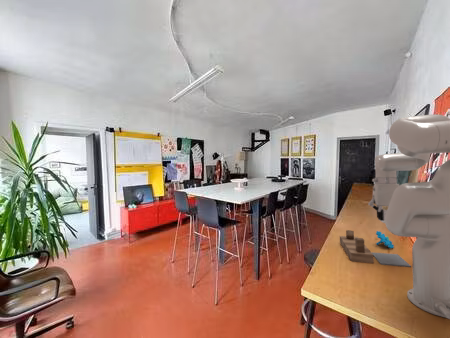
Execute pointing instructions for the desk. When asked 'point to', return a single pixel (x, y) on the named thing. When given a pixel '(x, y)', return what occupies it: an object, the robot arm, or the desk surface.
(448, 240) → the robot arm
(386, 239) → the blue bumpy piece
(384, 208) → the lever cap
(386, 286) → the desk surface
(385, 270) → the desk surface
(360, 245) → the brown stepped block
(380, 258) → the mat
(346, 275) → the desk surface
